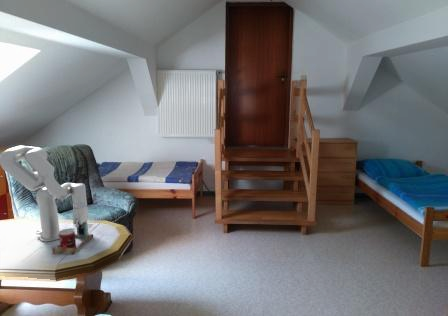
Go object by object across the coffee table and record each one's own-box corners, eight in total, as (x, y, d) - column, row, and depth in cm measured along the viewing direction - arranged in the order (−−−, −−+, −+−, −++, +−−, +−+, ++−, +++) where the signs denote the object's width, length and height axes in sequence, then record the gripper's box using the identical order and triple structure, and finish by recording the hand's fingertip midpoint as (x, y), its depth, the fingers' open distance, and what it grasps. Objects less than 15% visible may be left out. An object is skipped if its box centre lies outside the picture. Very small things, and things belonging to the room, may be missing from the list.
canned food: (63, 246, 200) (62, 228, 197) (78, 246, 200) (76, 228, 198) (58, 253, 192) (56, 234, 190) (73, 252, 193) (71, 233, 190)
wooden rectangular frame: (52, 253, 191) (50, 238, 190) (74, 235, 214) (72, 221, 212) (73, 254, 190) (72, 239, 188) (93, 236, 212) (92, 222, 210)
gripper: (81, 199, 216) (83, 227, 220) (66, 208, 201) (69, 238, 204) (92, 200, 215) (94, 228, 219) (79, 209, 200) (81, 239, 203)
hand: (82, 233), depth 212 cm, fingers closed on wooden rectangular frame, 2 cm apart
